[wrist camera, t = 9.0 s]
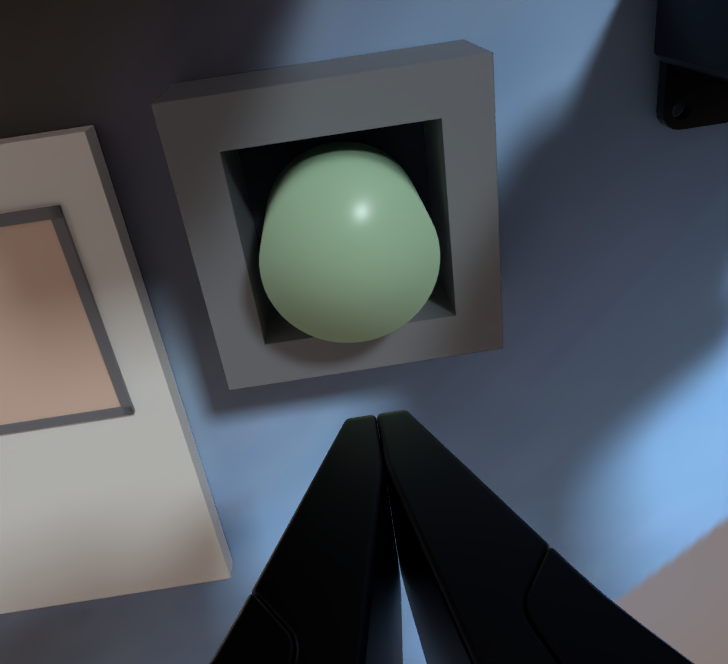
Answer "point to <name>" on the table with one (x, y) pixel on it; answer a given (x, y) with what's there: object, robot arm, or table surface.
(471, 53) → the button housing
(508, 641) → the robot arm
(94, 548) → the picture board
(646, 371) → the table surface
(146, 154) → the table surface
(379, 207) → the button
